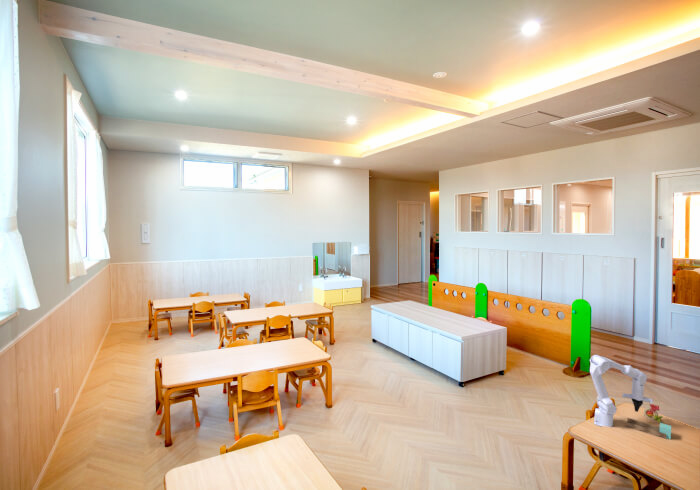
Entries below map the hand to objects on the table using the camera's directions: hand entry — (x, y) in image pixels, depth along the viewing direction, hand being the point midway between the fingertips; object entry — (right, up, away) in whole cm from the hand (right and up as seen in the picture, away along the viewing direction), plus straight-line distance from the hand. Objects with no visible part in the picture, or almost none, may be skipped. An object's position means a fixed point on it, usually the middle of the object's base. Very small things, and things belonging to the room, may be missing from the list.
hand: (636, 410), depth 225 cm
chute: (+1, -10, -6) cm, 11 cm away
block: (+8, -10, -11) cm, 17 cm away
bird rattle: (+15, -9, +6) cm, 19 cm away
